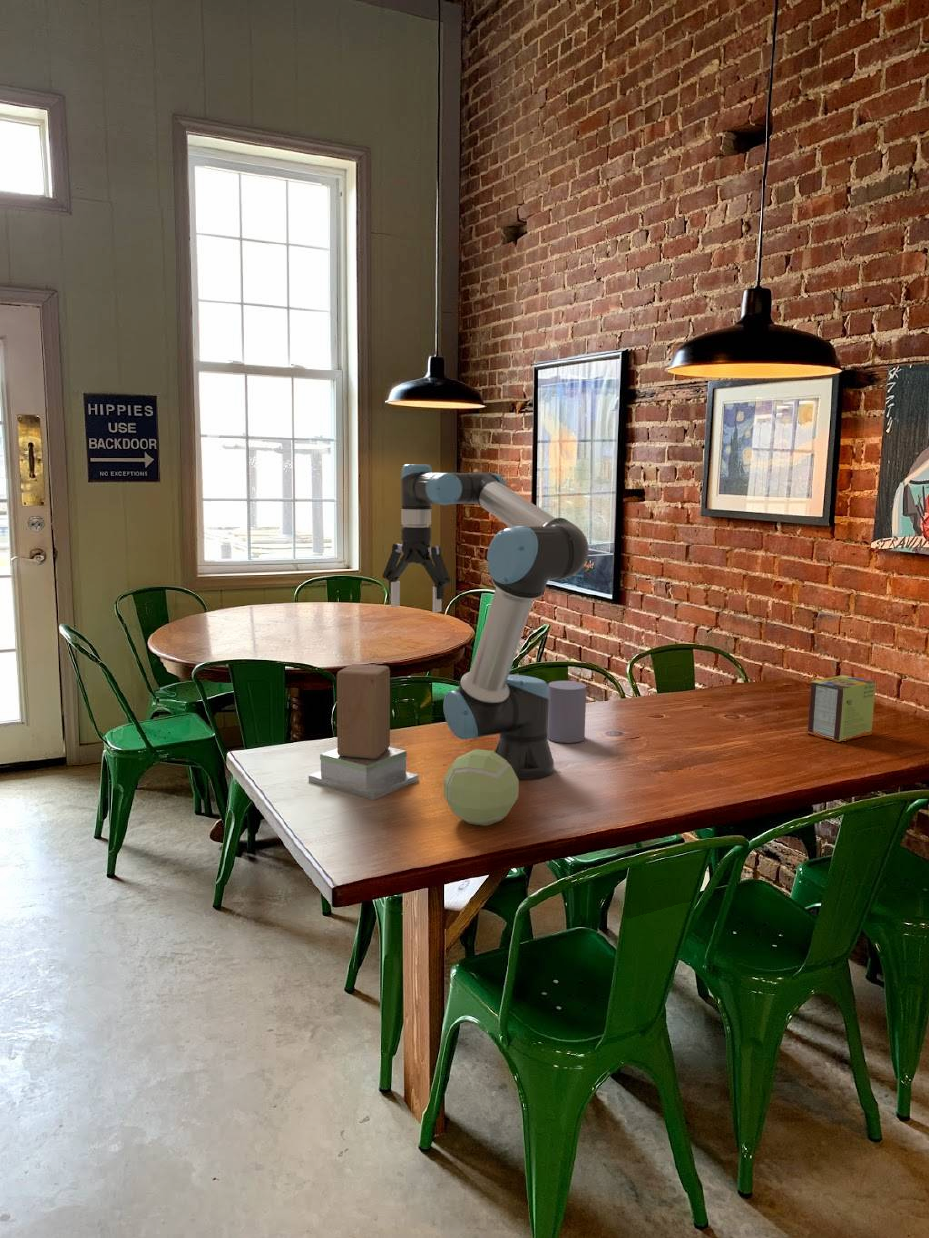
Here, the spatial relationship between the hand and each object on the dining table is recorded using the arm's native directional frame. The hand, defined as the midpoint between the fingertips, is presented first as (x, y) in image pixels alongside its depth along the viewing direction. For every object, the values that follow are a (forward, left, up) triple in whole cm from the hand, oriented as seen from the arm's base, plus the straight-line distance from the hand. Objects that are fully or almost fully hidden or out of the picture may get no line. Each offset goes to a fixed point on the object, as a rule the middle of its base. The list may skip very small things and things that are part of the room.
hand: (415, 609), depth 239 cm
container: (-27, -32, -37) cm, 56 cm away
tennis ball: (-43, +32, -37) cm, 65 cm away
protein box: (-86, -83, -37) cm, 125 cm away
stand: (-7, +28, -37) cm, 47 cm away
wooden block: (-7, +28, -30) cm, 42 cm away
